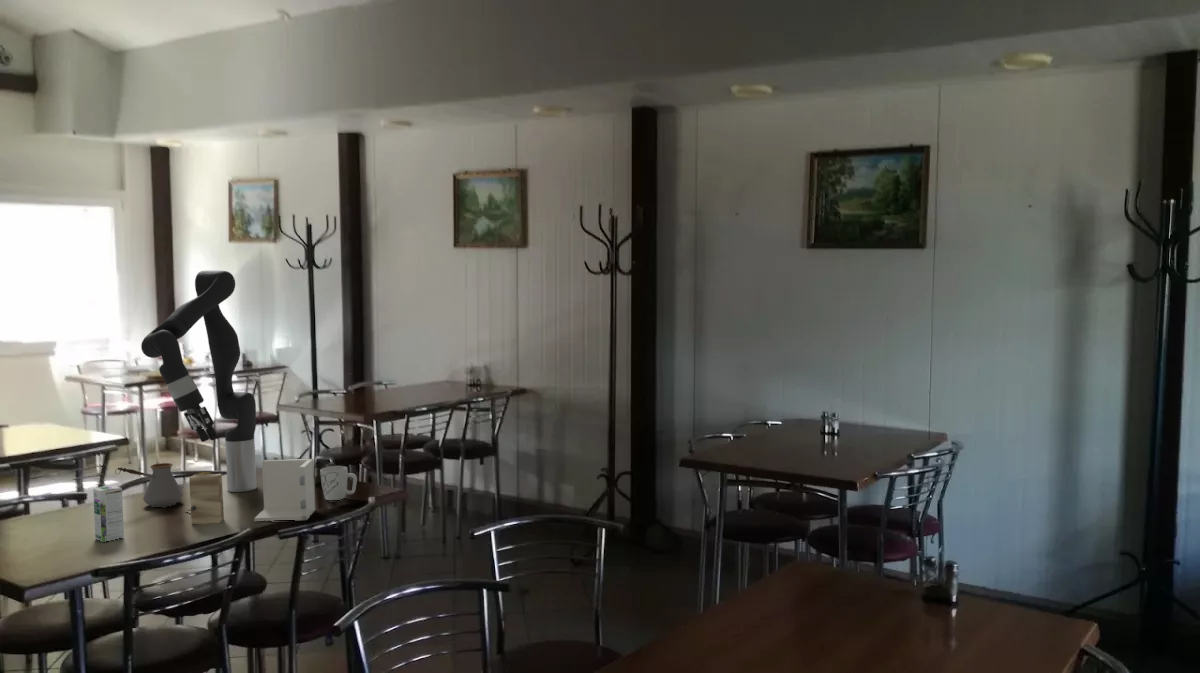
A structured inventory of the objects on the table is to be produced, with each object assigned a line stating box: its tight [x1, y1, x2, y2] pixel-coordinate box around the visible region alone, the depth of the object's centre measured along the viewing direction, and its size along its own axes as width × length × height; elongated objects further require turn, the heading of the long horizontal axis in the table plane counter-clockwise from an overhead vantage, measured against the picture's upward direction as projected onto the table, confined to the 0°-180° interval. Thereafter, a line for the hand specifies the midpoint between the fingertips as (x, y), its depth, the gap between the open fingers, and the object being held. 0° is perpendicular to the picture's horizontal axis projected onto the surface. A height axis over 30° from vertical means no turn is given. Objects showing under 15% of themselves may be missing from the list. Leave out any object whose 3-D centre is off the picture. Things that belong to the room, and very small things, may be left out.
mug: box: [319, 465, 358, 501], centre depth 302 cm, size 11×8×10 cm
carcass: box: [254, 458, 316, 522], centre depth 281 cm, size 14×15×16 cm
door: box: [188, 473, 225, 525], centre depth 276 cm, size 5×8×14 cm, turn 95°
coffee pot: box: [114, 462, 184, 508], centre depth 294 cm, size 21×12×15 cm, turn 153°
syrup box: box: [92, 485, 125, 543], centre depth 260 cm, size 6×6×14 cm
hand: (210, 440), depth 286 cm, fingers open, 8 cm apart
